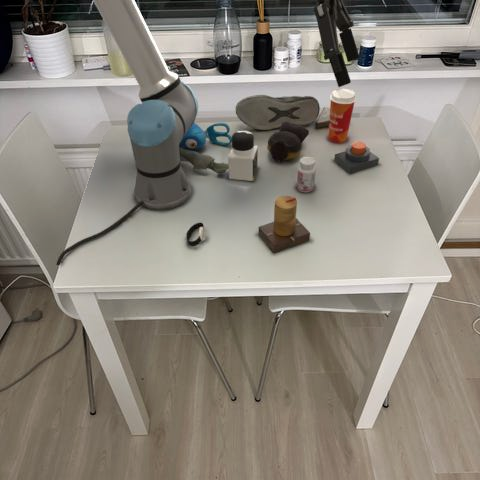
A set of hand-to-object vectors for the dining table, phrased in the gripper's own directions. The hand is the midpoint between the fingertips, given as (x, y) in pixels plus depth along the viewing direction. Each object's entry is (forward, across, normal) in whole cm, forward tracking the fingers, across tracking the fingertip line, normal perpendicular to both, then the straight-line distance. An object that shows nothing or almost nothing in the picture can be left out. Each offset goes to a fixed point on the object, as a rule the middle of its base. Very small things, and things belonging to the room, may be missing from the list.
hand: (349, 71), depth 108 cm
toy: (-2, +10, +53) cm, 54 cm away
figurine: (+16, +6, +28) cm, 33 cm away
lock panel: (+23, -26, +20) cm, 40 cm away
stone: (+27, +36, +21) cm, 49 cm away
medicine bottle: (+16, -1, +37) cm, 40 cm away
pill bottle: (+24, -3, +20) cm, 32 cm away
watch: (+14, -32, +39) cm, 52 cm away
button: (+26, +13, +8) cm, 31 cm away
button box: (+30, +13, +10) cm, 34 cm away
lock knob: (+21, -26, +19) cm, 38 cm away
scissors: (+9, +13, +42) cm, 45 cm away
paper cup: (+27, +26, +17) cm, 41 cm away
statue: (-2, +2, +64) cm, 64 cm away
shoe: (+13, +28, +32) cm, 44 cm away
